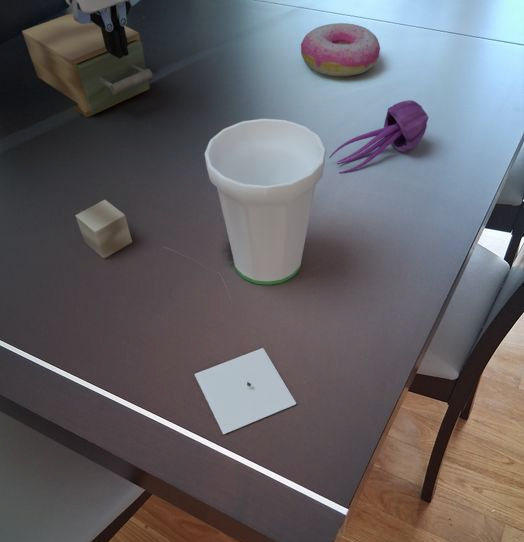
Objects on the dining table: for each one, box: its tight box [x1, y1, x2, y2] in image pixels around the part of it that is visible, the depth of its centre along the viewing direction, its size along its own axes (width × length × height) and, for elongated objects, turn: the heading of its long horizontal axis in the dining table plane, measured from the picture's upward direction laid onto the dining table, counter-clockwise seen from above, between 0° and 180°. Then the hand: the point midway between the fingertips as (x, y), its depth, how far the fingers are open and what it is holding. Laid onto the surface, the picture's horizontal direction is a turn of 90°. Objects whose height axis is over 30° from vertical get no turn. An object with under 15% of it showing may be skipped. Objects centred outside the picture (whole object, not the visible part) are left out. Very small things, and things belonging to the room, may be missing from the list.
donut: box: [300, 22, 381, 77], centre depth 98 cm, size 14×13×5 cm
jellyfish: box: [328, 99, 429, 174], centre depth 81 cm, size 7×7×15 cm
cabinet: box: [21, 12, 150, 118], centre depth 94 cm, size 15×13×9 cm
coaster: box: [194, 347, 297, 435], centre depth 58 cm, size 8×8×1 cm
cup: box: [204, 118, 327, 286], centre depth 64 cm, size 12×12×15 cm
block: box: [74, 199, 133, 260], centre depth 71 cm, size 4×4×4 cm
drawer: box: [76, 40, 154, 113], centre depth 92 cm, size 18×11×7 cm, turn 44°
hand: (118, 53), depth 86 cm, fingers closed
